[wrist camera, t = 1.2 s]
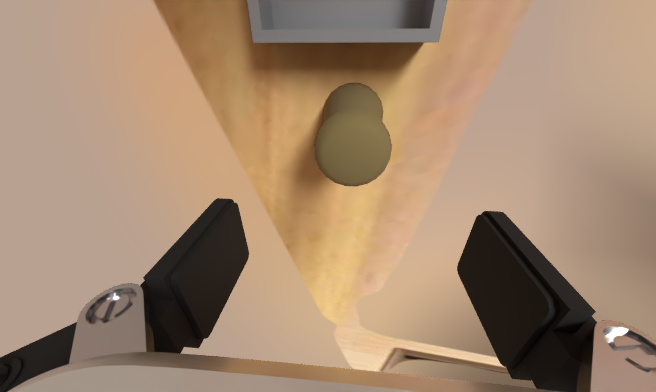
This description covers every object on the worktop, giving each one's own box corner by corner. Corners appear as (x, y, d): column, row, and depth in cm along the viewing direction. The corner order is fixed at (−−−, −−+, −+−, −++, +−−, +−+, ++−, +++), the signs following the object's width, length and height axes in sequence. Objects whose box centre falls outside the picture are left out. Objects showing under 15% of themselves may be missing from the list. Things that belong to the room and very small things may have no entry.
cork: (328, 147, 26) (314, 203, 17) (317, 88, 23) (294, 118, 14) (384, 140, 25) (402, 195, 16) (381, 77, 22) (401, 101, 13)
